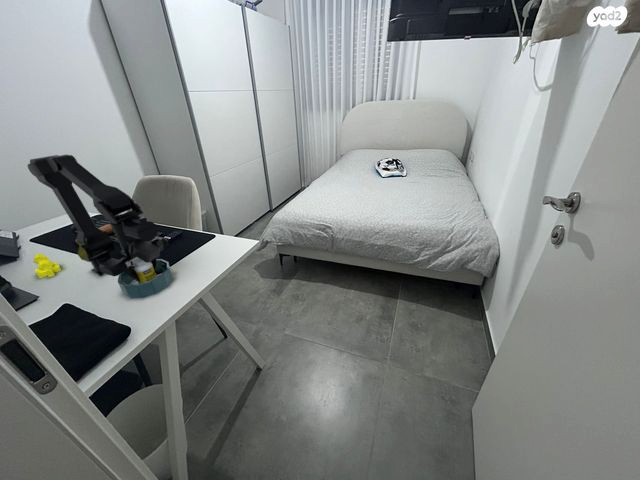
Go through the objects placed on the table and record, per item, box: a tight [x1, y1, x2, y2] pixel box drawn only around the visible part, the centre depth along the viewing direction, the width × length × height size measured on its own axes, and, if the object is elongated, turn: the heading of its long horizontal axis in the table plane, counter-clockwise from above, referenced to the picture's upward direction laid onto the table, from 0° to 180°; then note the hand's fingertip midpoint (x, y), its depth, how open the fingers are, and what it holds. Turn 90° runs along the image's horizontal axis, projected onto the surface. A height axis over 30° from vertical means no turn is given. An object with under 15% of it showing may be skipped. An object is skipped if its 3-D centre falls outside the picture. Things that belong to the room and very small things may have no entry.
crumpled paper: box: [33, 252, 62, 279], centre depth 91 cm, size 6×8×8 cm
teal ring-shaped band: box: [117, 258, 175, 299], centre depth 85 cm, size 14×14×5 cm
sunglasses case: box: [74, 223, 114, 245], centre depth 115 cm, size 18×7×7 cm
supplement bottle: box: [131, 257, 158, 284], centre depth 84 cm, size 5×5×10 cm
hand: (146, 276), depth 84 cm, fingers closed on supplement bottle, 5 cm apart
